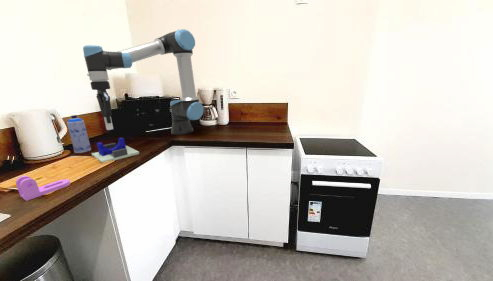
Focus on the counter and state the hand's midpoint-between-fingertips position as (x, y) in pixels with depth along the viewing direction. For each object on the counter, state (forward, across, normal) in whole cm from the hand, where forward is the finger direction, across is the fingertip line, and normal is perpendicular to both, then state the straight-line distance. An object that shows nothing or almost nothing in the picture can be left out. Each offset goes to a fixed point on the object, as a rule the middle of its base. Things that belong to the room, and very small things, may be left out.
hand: (110, 129), depth 109 cm
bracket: (+14, +23, -29) cm, 40 cm away
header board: (+14, 0, 0) cm, 14 cm away
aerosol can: (+14, -24, -9) cm, 29 cm away
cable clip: (+13, -2, 0) cm, 13 cm away
